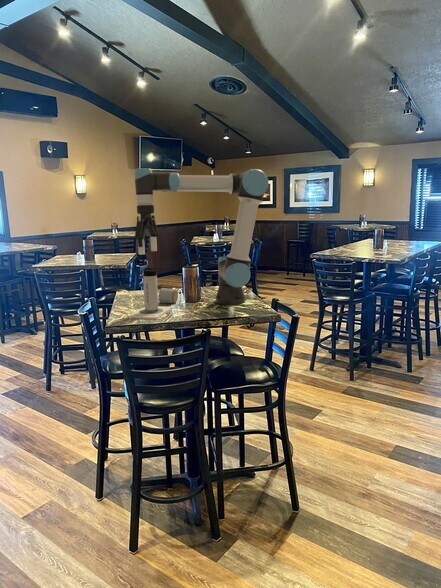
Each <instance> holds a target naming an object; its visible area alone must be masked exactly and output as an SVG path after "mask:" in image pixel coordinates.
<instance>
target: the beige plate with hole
mask: <svg viewBox="0 0 441 588" xmlns="http://www.w3.org/2000/svg"><path fill="white" fill-rule="evenodd" d="M173 309H174V307H173V306H159V305H158V311H157V312H145V306H144V307H142V308H140V309H138V310H136V311H135V312H132V313H131V314H129V315H127V318H128V319H142V320H143V319H144V320H145V319H148V320H149V319H150V320H158V319H160V318H161V317H162V316H164V315H165V314H167V313H168V312H170V311H171V310H173ZM159 317H160V318H159Z"/></svg>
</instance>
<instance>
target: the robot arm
mask: <svg viewBox="0 0 441 588" xmlns="http://www.w3.org/2000/svg"><path fill="white" fill-rule="evenodd" d="M269 182H270V181H269V178H268V176H267V175H266V173H265V172H264V171H263V170H261V169H258V168H256V169H255V168H251V169H248V170H246V171H242V172H237V173H229V174H228V175H200V174H199V175H198V174H196V175H195V174H193V175H192V174H189V175H187V174H179V173H178V172H153V170H152V169H151V168H150V167H149V168H147V167H146V168H145V167H144V168H143V167H142V168H141V167H140V168H139V167H138V168H136V169H135V171H134V183H135V184H134V185H135V187H134V188H135V201H136V212H137V217H136V226H135V233H134V234H135V235H134V239H135V240H137V249H138V250H137V251H138V255H139V256H141V255H146V247H145V245H146V244H145V239H144V236H145V234H146V233H145V232H146V229H148V232H149V234H150V237H149V238H150V251H151V252H157V251H158V247H157V246H158V245H157V244H158V243H157V240H158V239H157V238H158V237H159V230H158V227H157V223H156V218H155V215H154V213H155V206H154V204H155V203H154V200H155V199H154V191H155V192H156V191H157V192H158V191H161V192H165V193H166V192H197V193H198V192H207V193H210V192H214V193H215V192H218V193H219V192H220V193H229V194H230V195H237V199H238V200H239V206H238V212H237V217H236V222H235V226H234V232H233V238H232V242H231V248H230V252H229V253H228V254H227V255H226V256H220V257H218V260H217V266H218V267H217V268H218V269H217V270H218V271H217V272H218V273H217V274H218V288H217V292H216V295H215V303H217V304H220V305H239V304H243V303H245V302H246V295H245V292H244V290H243V286H245V285H246V284H248V282H249V280H250V279H251V270H250V267H251V262H252V261H251V258H250V256H249V255H250V250H251V244H252V241H253V234H254V229H255V226H256V225H255V224H256V219H257V215H258V214H257V213H258V209H259V205H260V204H262V203H263V200H264V195H265V193H266V191H267V190H268V188H269V185H270V184H269ZM152 214H153V215H152ZM138 215H139V216H138Z"/></svg>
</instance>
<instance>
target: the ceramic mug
mask: <svg viewBox="0 0 441 588" xmlns="http://www.w3.org/2000/svg"><path fill="white" fill-rule="evenodd" d="M158 291H159V292H158V302H159V303H161V304H176V303H177V302H178V300H179V293H178V290H176V289H175V288H165V287H161V288H160V289H159V290H158Z"/></svg>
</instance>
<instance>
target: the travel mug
mask: <svg viewBox="0 0 441 588" xmlns="http://www.w3.org/2000/svg"><path fill="white" fill-rule="evenodd" d="M157 271H158V270H157V269H156V268H152V267H149V266H148V267H145V268H143V269H142V273H143V275H142V276H143V277H142V280H143V281H142V283H143V298H144V299H143V300H144V302H143V303H144V307H145V312H157V311H158V306H159V292H158V291H159V290H158V272H157Z"/></svg>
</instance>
